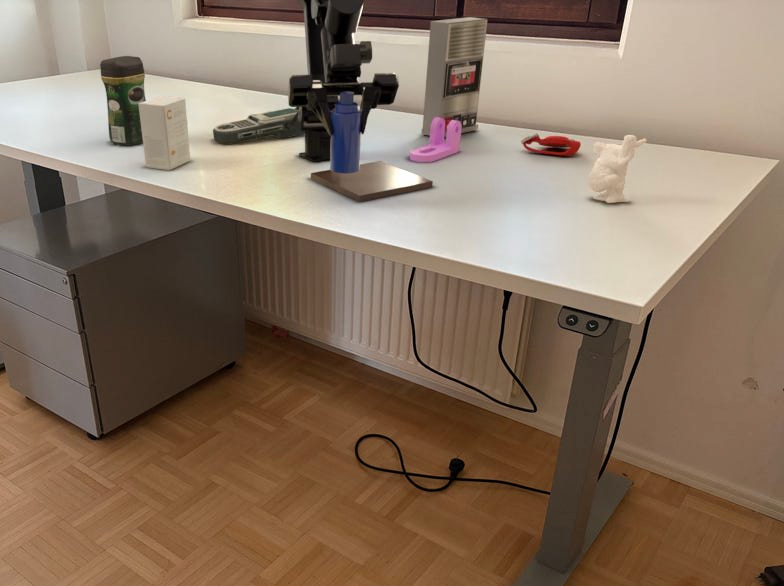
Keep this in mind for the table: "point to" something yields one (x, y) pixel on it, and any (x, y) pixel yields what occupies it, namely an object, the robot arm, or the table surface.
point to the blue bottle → (345, 135)
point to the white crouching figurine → (612, 169)
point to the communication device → (260, 127)
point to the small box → (164, 132)
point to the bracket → (439, 141)
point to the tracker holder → (553, 144)
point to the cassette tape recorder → (454, 72)
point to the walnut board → (372, 181)
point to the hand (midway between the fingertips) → (346, 133)
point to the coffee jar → (124, 98)
